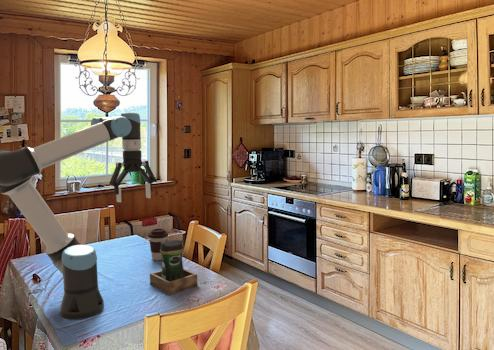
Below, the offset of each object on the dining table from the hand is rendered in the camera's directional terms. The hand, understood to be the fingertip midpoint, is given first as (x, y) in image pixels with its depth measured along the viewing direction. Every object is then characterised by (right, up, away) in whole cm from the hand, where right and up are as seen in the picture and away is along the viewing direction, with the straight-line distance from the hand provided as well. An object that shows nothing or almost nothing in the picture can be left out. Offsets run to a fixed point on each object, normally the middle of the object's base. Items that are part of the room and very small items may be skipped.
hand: (134, 200), depth 175 cm
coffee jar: (+16, -36, +2) cm, 39 cm away
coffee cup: (+3, -33, +38) cm, 50 cm away
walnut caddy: (+16, -37, +2) cm, 40 cm away
